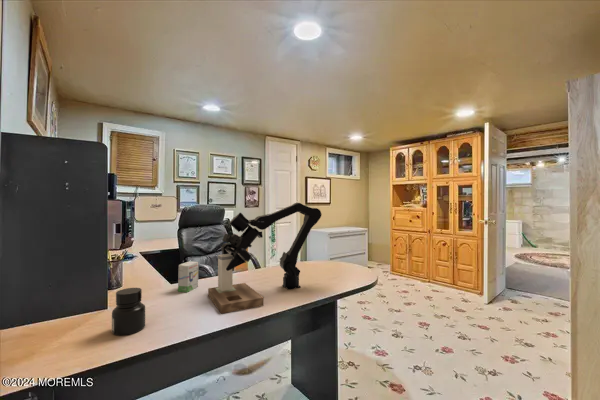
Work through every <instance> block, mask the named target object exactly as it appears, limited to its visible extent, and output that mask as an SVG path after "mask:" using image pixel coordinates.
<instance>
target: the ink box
mask: <svg viewBox="0 0 600 400" xmlns="http://www.w3.org/2000/svg"><path fill="white" fill-rule="evenodd" d="M177 276H178V279H177V281H178V282H177V292H178V293H189V292H191V291H192V290H194V289H196V288H198V287H199V261H186V262H184V263H183V262H182V263H180V264H178V275H177Z"/></svg>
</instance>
